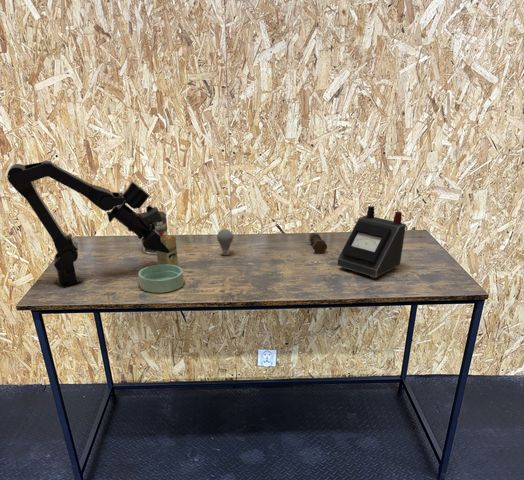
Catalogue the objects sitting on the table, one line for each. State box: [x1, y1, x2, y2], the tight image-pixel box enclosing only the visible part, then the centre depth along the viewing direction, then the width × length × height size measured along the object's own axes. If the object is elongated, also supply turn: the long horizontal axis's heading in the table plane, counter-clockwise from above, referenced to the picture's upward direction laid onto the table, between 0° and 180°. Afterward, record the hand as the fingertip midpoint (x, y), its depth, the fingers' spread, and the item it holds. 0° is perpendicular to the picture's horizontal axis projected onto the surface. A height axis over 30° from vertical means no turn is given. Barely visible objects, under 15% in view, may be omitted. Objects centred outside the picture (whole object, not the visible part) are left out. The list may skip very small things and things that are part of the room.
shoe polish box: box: [156, 234, 179, 267], centre depth 174 cm, size 5×5×12 cm
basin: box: [138, 264, 185, 294], centre depth 165 cm, size 14×14×4 cm
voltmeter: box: [336, 205, 407, 280], centre depth 173 cm, size 16×16×20 cm
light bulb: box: [216, 228, 234, 256], centre depth 188 cm, size 6×6×10 cm
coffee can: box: [140, 210, 169, 255], centre depth 192 cm, size 10×10×14 cm
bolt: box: [308, 232, 328, 255], centre depth 197 cm, size 6×5×15 cm
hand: (166, 248), depth 173 cm, fingers open, 9 cm apart
